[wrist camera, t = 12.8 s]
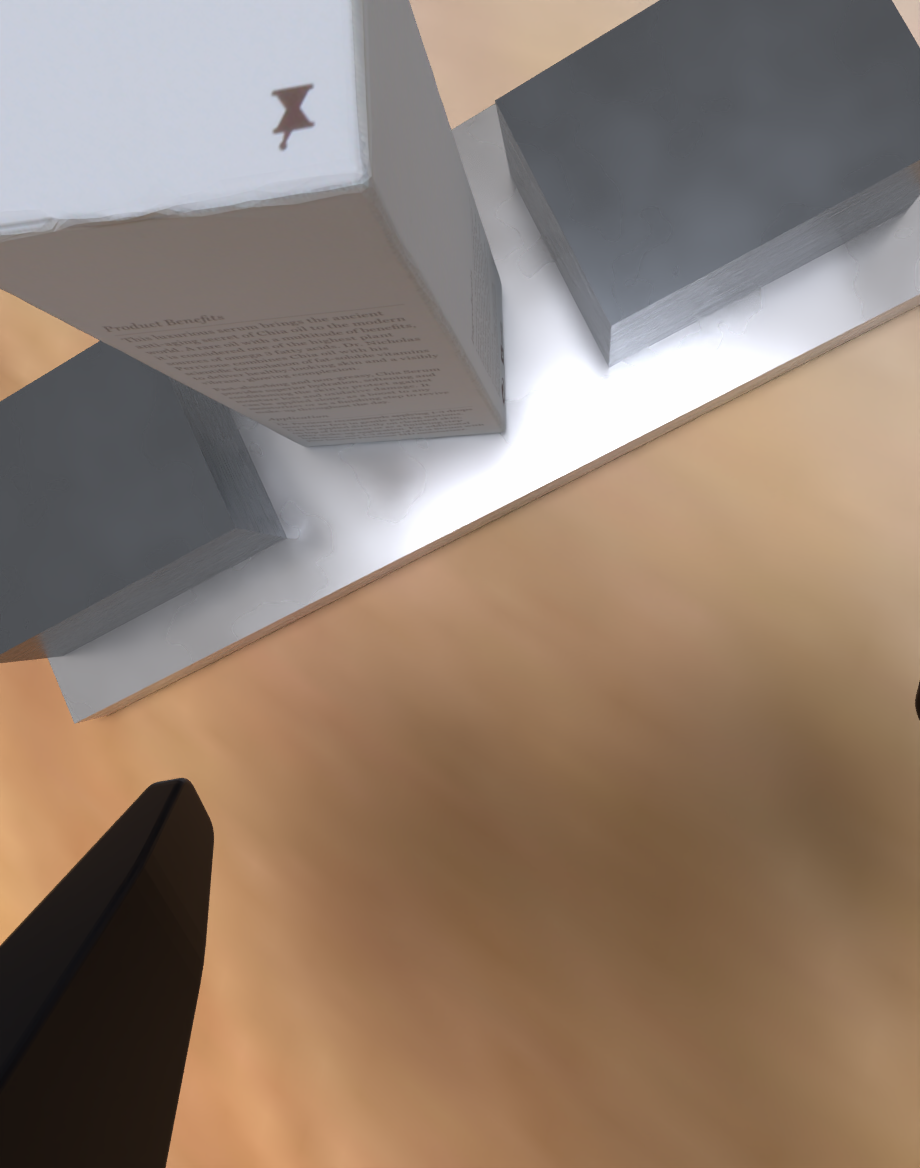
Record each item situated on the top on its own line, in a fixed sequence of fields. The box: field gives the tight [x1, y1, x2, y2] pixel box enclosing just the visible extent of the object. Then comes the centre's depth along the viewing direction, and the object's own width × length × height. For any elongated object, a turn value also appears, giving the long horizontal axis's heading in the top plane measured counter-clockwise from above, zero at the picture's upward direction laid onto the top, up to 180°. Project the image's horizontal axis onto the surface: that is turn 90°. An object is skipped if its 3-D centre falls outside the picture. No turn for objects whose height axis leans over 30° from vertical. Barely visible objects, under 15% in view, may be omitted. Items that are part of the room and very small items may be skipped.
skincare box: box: [0, 0, 506, 447], centre depth 14 cm, size 6×4×12 cm
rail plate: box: [0, 0, 920, 723], centre depth 19 cm, size 10×27×4 cm, turn 116°
